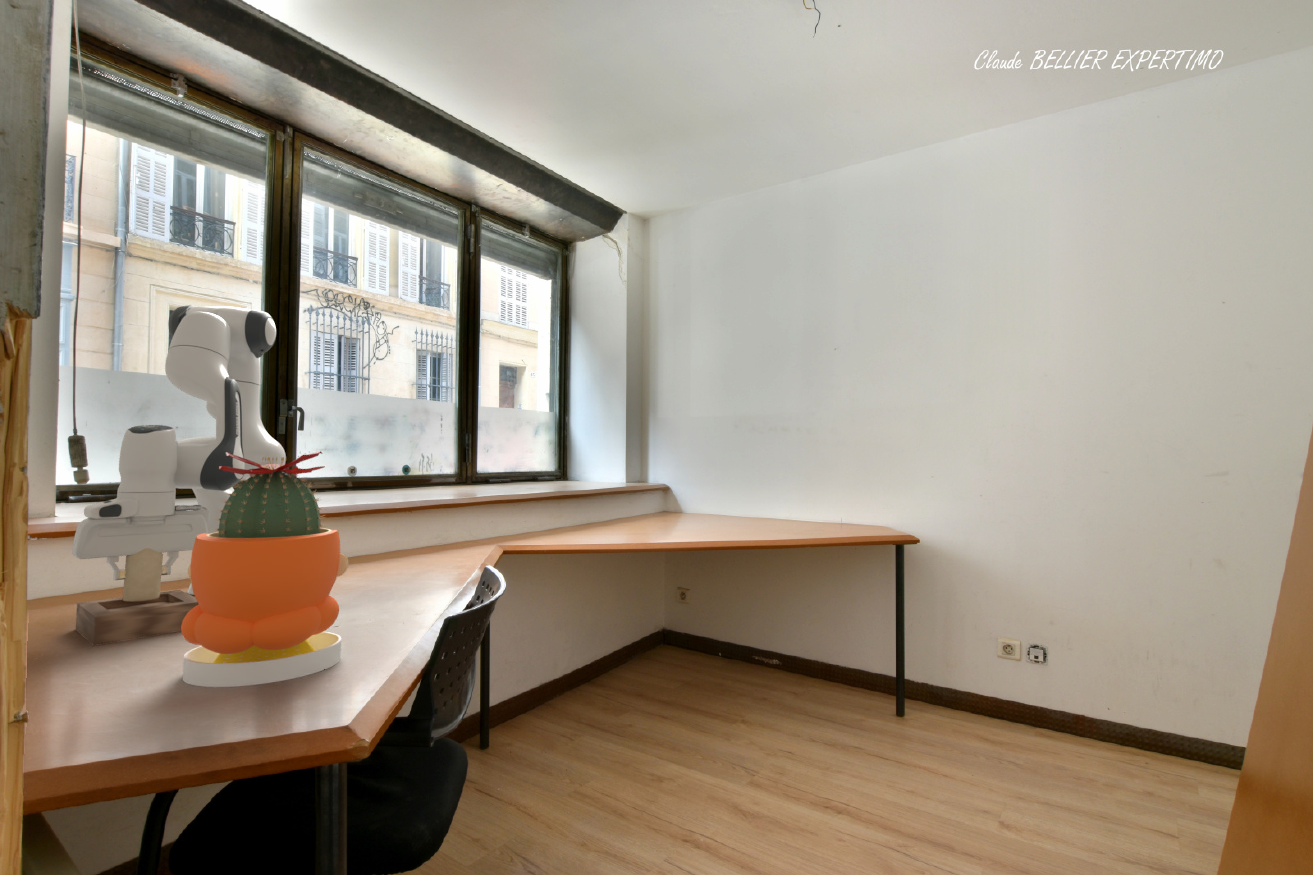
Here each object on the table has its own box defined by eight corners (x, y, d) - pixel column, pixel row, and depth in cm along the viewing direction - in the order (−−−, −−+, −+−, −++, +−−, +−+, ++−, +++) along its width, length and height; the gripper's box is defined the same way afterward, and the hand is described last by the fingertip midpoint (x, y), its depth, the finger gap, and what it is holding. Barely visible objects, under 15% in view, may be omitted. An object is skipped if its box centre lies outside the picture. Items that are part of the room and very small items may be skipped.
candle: (161, 599, 117) (165, 547, 118) (124, 603, 113) (128, 549, 114) (157, 595, 121) (161, 545, 121) (120, 598, 117) (125, 547, 117)
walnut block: (178, 615, 128) (179, 589, 128) (202, 629, 118) (204, 601, 119) (75, 631, 115) (77, 603, 116) (93, 648, 106) (95, 616, 106)
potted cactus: (199, 658, 100) (209, 449, 101) (348, 644, 109) (356, 452, 110) (150, 707, 80) (163, 447, 82) (337, 685, 89) (346, 450, 90)
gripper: (204, 503, 128) (201, 568, 127) (72, 508, 112) (68, 582, 111) (214, 505, 124) (211, 572, 124) (79, 509, 108) (75, 587, 107)
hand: (142, 577), depth 117 cm, fingers closed on candle, 5 cm apart
